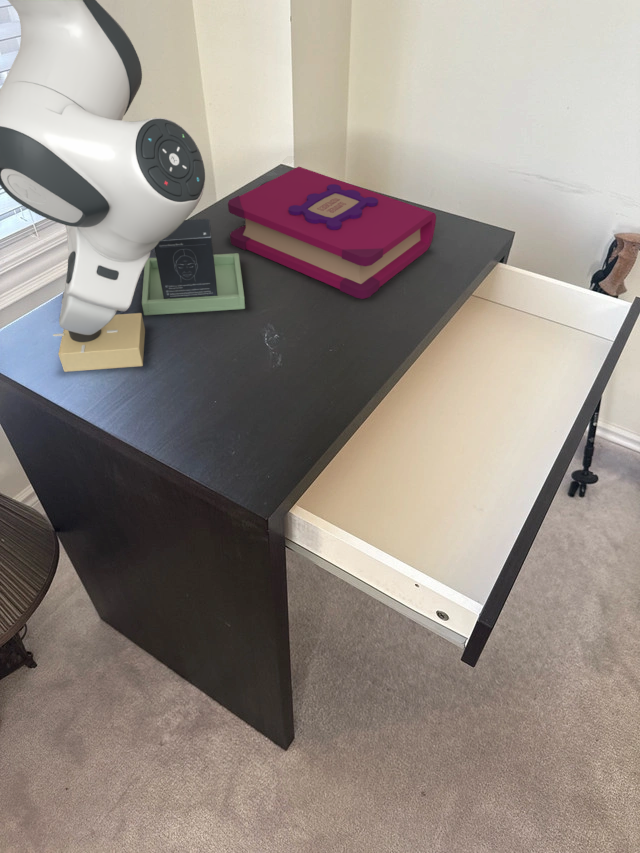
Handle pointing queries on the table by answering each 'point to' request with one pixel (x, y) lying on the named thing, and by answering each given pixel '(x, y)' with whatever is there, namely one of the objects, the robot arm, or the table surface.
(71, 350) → the panel
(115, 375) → the table surface
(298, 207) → the book
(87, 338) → the dial
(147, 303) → the tray
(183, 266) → the box
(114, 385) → the table surface
